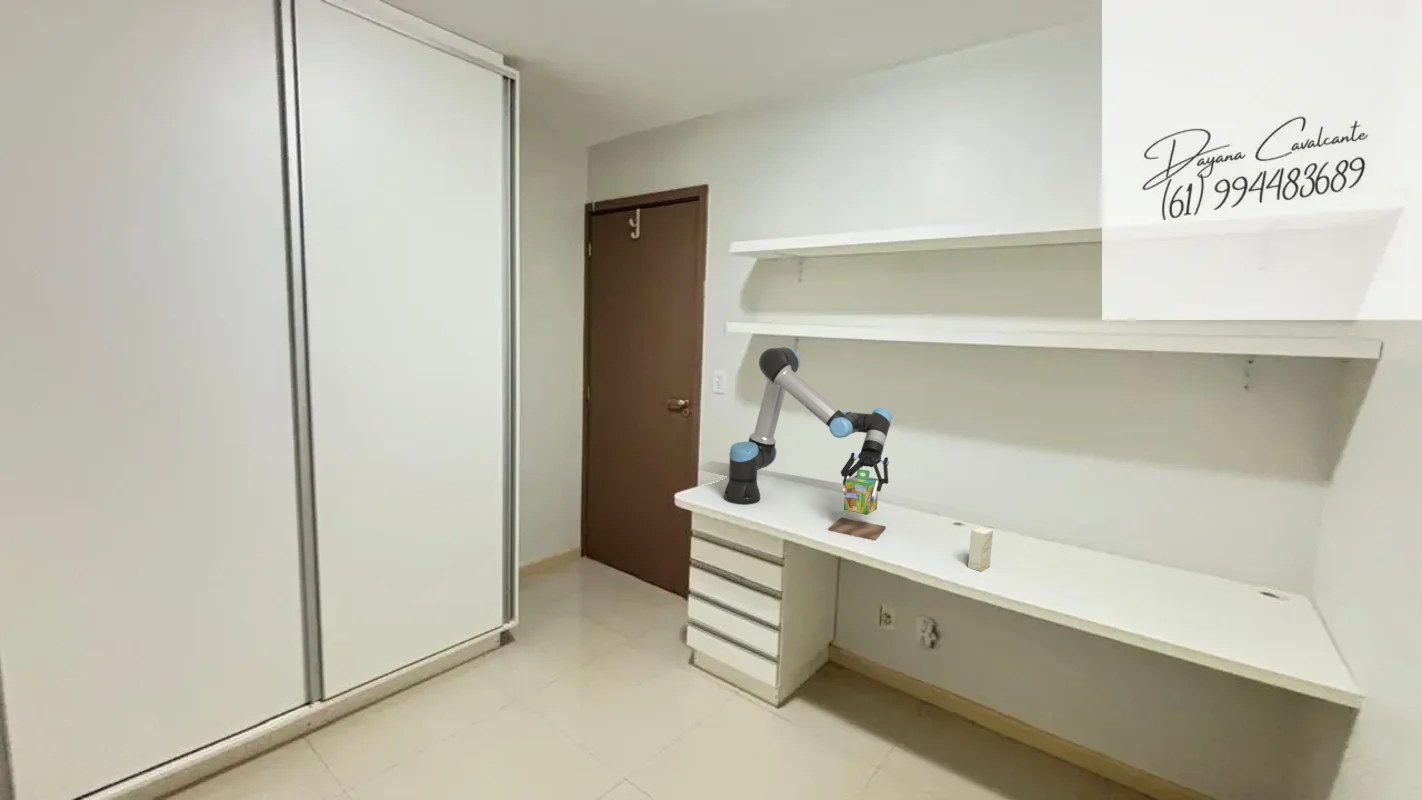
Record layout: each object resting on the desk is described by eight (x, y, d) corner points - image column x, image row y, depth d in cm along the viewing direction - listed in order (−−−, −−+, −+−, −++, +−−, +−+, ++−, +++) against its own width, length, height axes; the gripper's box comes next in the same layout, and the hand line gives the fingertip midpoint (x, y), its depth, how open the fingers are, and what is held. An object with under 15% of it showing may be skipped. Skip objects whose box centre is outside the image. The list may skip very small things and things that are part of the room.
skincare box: (981, 572, 181) (984, 534, 180) (966, 567, 185) (970, 530, 183) (990, 566, 185) (993, 530, 184) (976, 562, 189) (979, 526, 187)
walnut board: (828, 530, 213) (828, 527, 213) (840, 519, 225) (840, 517, 225) (875, 540, 204) (875, 537, 204) (885, 528, 216) (885, 526, 216)
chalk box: (843, 510, 213) (844, 470, 211) (854, 504, 220) (855, 466, 218) (867, 515, 207) (868, 474, 205) (878, 509, 214) (879, 469, 212)
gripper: (905, 454, 218) (891, 506, 207) (846, 446, 229) (830, 495, 218) (903, 443, 213) (889, 495, 202) (842, 435, 224) (826, 484, 213)
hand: (858, 495), depth 210 cm, fingers closed on chalk box, 10 cm apart
